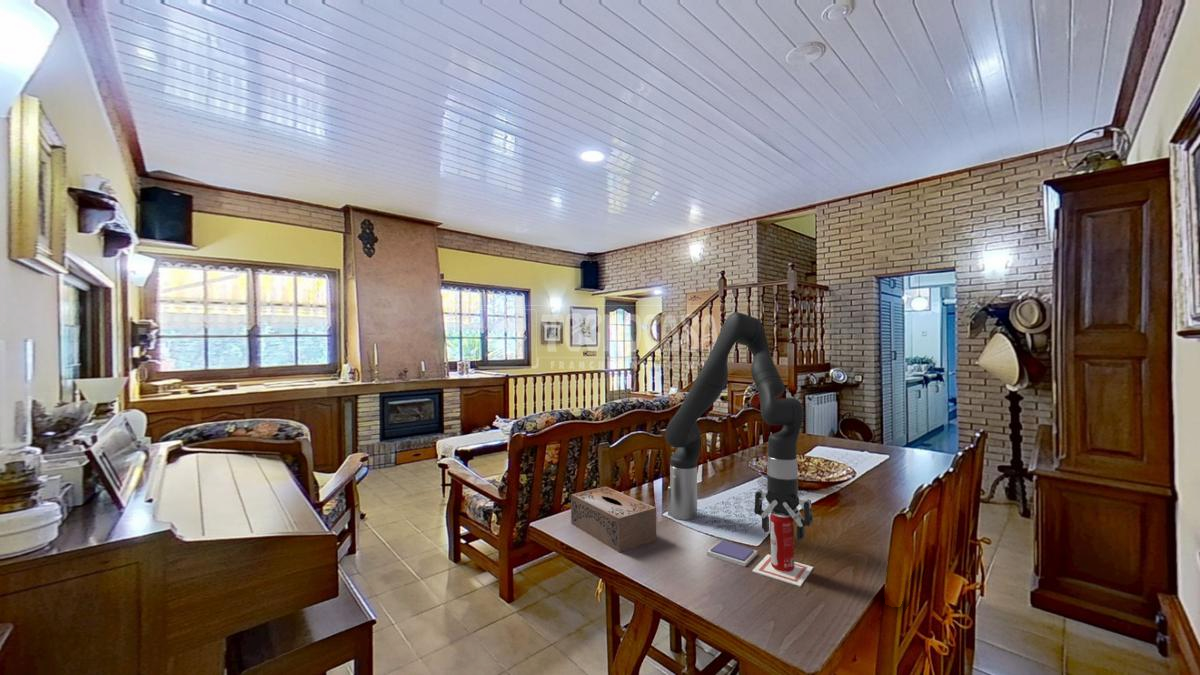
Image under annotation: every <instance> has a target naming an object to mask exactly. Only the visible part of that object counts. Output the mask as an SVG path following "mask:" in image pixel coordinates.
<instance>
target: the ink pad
mask: <svg viewBox="0 0 1200 675" xmlns="http://www.w3.org/2000/svg"><path fill="white" fill-rule="evenodd" d="M706 556H709V557H712V558H715V559H719V560H722V561H725V562H728V563H731V564H734V565H739V566H741V567H746V566H747V565H749V564H750V562H751V561H752V560H754V558H755V557H756V556H758V550H755V549H753V548H750V547H746V546H743V545H739V544H735V543H732V542H729V541H725V540H719V541H718V542H717V543H716V544H714V545H713V546H712V547H710V548H709V549H708V550H707V552H706Z"/></svg>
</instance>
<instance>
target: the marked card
mask: <svg viewBox="0 0 1200 675" xmlns="http://www.w3.org/2000/svg"><path fill="white" fill-rule="evenodd" d="M813 569H814V566H812V565H811V566H810V565H808V564H804V563H800V562H797V561H794V570H793V571H791V572H788V573H784V572H779V571H777V570H775V569H774V568H773V567H772V565H771V554H769V553H767V554H766V555H765V556H764V557H763V558H762V559H761V561H759V563H758V564H757V565H756V566H755V567H754V568H753V569H752V570H751V572H752V573H755V574H757V575H761V576H763V577H768V578H770V579H774V580H777V581H781V582H784V583H787V584H790V585H793V586H795V587H800V588H801V587H802V585H803V584H804V582H805V581H806V579H807V578H808V577H809V575H810V574H811V572H812V571H813Z"/></svg>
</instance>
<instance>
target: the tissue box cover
mask: <svg viewBox="0 0 1200 675" xmlns="http://www.w3.org/2000/svg"><path fill="white" fill-rule="evenodd" d="M570 524H571V525H573V526H575V527H576V528H577V529H579V530H581V531H582V532H584V533H586V534H587V535H590V536H591V537H592V538H594V539H596V540H597V541H599V542H601V543H602V544H604V545H605V546H607V547H609V548H611V549H612V550H613V551H615V552H617V553H621V552H625V551H627V550H631V549H633V548H636V547H639V546H643V545H645V544H648V543H651V542H655V541H657V507H655V506H652V505H650V504H648V503H646V502H644V501H641V500H639V499H636V498H634V497H632V496H630V495H627V494H625V493H623V492H620V491H619V490H616V489H614V488H611V487H610V486H609V487H608V486H602V487H598V488H597V487H596V488H593V489H588V490H584V491H579V492H575V493H572V494H570Z"/></svg>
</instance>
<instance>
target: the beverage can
mask: <svg viewBox="0 0 1200 675" xmlns="http://www.w3.org/2000/svg"><path fill="white" fill-rule="evenodd" d="M794 527H795V526H794V519H793V518H792V517H791V515H790V514H788V515H787V514H783V513H778V512H775V511H774V510H772V511H771V512H770V515H769V531H770V555H771V565H772V567H773V568H774V569H775V570H777V571H779V572H784V573H788V572H791V571H793V570H794V562H795V539H794V538H795V532H794V531H795V530H794Z"/></svg>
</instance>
